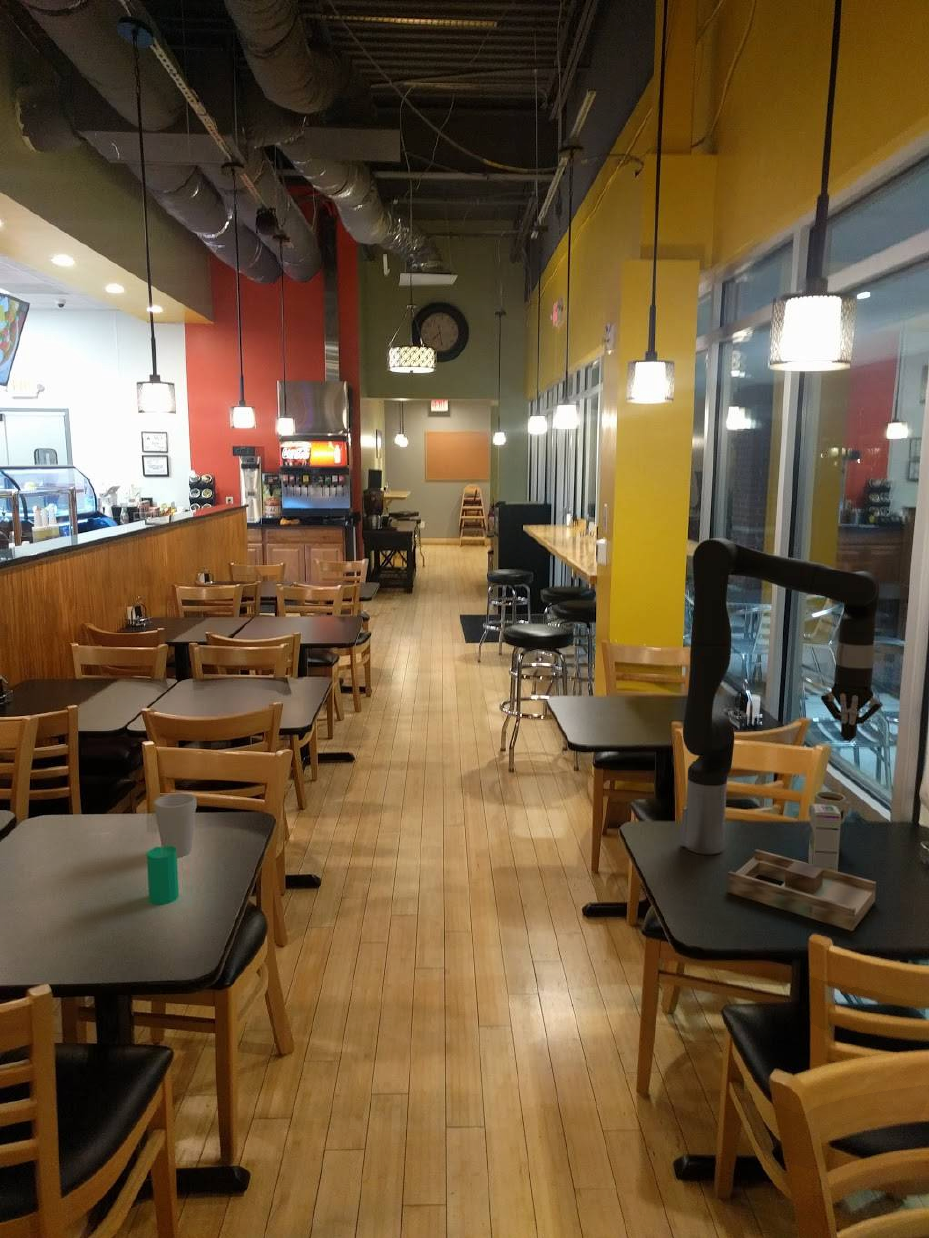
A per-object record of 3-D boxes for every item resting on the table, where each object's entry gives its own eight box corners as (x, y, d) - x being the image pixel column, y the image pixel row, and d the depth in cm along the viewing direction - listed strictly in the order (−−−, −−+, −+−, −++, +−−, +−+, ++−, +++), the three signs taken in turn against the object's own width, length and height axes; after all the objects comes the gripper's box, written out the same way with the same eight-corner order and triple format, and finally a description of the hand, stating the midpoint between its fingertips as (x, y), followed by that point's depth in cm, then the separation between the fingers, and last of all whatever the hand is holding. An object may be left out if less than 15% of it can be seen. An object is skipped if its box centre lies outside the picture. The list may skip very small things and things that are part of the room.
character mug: (815, 854, 212) (818, 802, 210) (798, 842, 219) (801, 792, 217) (855, 850, 214) (859, 799, 212) (837, 839, 221) (841, 789, 219)
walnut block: (784, 885, 189) (785, 870, 188) (794, 875, 193) (795, 860, 193) (813, 893, 185) (814, 878, 184) (822, 883, 190) (823, 868, 189)
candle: (184, 893, 189) (182, 840, 187) (166, 906, 184) (164, 851, 182) (161, 889, 191) (158, 836, 189) (142, 901, 185) (140, 847, 184)
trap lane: (727, 892, 192) (728, 872, 191) (755, 867, 204) (756, 849, 204) (852, 931, 176) (854, 909, 175) (874, 901, 188) (876, 881, 187)
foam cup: (206, 850, 211) (204, 798, 209) (175, 863, 204) (172, 810, 202) (179, 841, 216) (177, 790, 214) (148, 854, 209) (145, 801, 207)
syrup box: (838, 874, 201) (843, 813, 199) (810, 871, 202) (815, 811, 200) (833, 863, 207) (837, 804, 204) (806, 861, 208) (810, 802, 205)
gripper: (817, 661, 194) (812, 737, 197) (882, 670, 186) (875, 749, 188) (828, 656, 200) (822, 730, 202) (891, 664, 191) (884, 741, 194)
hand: (848, 739), depth 195 cm, fingers closed
